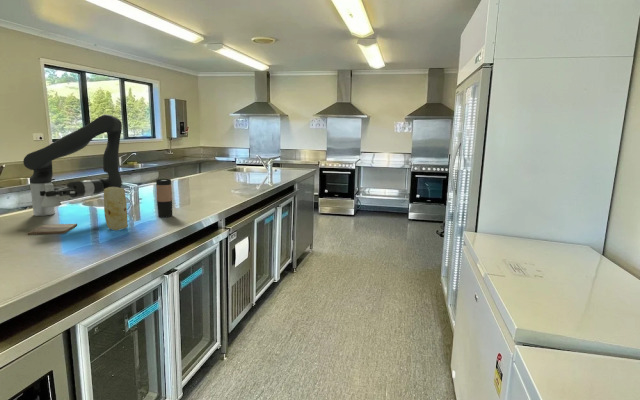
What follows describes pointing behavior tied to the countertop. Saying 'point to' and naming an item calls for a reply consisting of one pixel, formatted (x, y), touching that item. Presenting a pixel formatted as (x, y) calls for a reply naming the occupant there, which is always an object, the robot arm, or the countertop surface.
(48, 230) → the walnut board
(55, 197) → the flask
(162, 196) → the travel mug
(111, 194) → the food model
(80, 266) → the countertop surface
